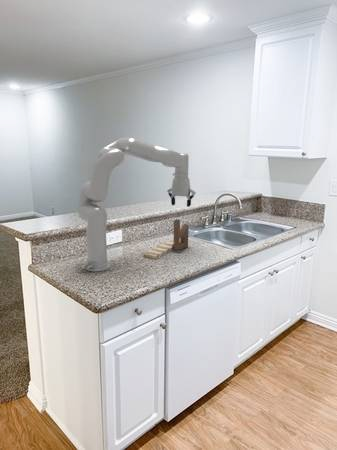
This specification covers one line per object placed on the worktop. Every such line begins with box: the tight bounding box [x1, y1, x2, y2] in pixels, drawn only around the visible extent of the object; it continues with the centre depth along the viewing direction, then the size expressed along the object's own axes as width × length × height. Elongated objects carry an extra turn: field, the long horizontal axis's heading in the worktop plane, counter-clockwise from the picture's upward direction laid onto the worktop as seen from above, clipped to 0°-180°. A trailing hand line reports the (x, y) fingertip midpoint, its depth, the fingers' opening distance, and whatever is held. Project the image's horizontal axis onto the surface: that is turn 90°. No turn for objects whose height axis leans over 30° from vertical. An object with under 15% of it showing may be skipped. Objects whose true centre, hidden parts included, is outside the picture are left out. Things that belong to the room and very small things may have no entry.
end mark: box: [170, 245, 190, 254], centre depth 203 cm, size 14×6×1 cm, turn 153°
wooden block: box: [172, 218, 190, 251], centre depth 201 cm, size 4×11×18 cm, turn 139°
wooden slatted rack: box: [142, 240, 174, 260], centre depth 199 cm, size 30×8×2 cm, turn 153°
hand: (180, 205), depth 197 cm, fingers open, 9 cm apart
